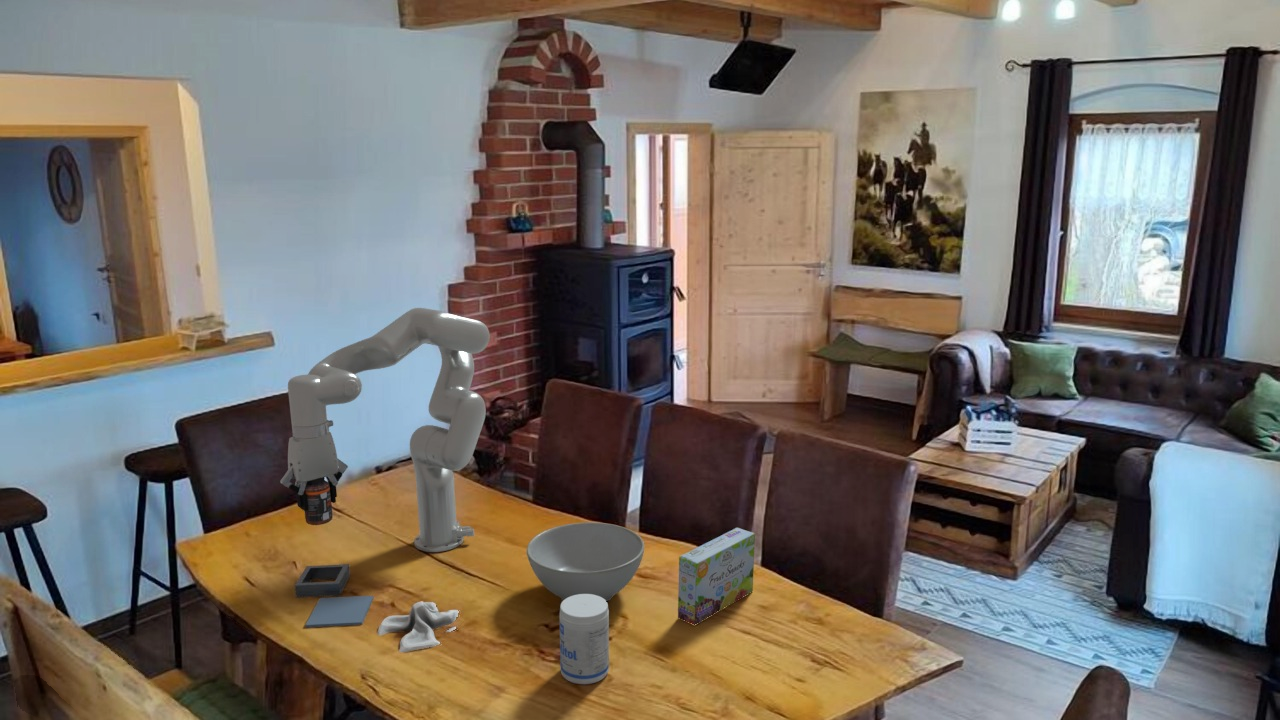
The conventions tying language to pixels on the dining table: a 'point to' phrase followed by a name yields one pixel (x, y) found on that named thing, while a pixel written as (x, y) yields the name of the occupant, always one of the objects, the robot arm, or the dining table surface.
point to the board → (340, 611)
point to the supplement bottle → (318, 502)
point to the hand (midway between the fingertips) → (317, 504)
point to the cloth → (418, 625)
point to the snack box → (715, 575)
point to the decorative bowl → (585, 558)
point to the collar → (322, 588)
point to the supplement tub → (584, 638)
